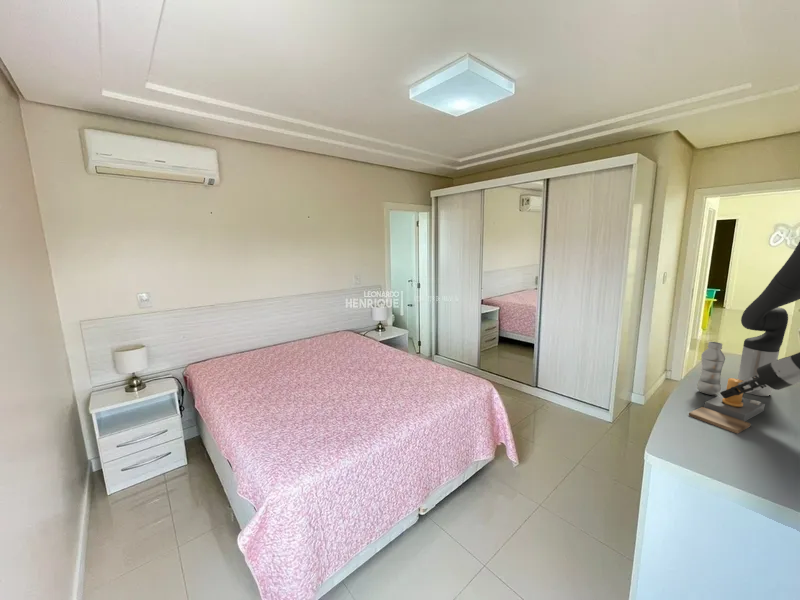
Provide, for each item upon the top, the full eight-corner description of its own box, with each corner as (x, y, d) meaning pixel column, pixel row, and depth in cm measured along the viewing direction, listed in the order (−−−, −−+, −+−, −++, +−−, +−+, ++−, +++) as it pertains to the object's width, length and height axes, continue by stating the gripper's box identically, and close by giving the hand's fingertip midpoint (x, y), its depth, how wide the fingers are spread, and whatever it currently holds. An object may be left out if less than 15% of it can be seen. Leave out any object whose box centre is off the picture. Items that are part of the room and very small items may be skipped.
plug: (724, 406, 115) (729, 376, 114) (743, 412, 111) (749, 381, 109) (718, 409, 113) (723, 379, 111) (738, 416, 109) (744, 384, 107)
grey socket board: (725, 398, 121) (726, 390, 120) (763, 410, 112) (765, 402, 112) (703, 408, 114) (705, 400, 113) (743, 422, 105) (745, 413, 104)
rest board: (701, 409, 113) (702, 406, 113) (750, 426, 103) (750, 423, 102) (688, 415, 109) (689, 412, 109) (737, 433, 99) (738, 430, 98)
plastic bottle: (724, 398, 121) (733, 346, 118) (703, 396, 123) (711, 345, 120) (711, 390, 128) (719, 341, 124) (691, 389, 129) (699, 340, 126)
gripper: (781, 358, 105) (725, 380, 118) (764, 365, 99) (706, 387, 112) (804, 379, 101) (743, 400, 114) (786, 388, 95) (725, 409, 108)
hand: (725, 393), depth 113 cm, fingers closed on plug, 4 cm apart
